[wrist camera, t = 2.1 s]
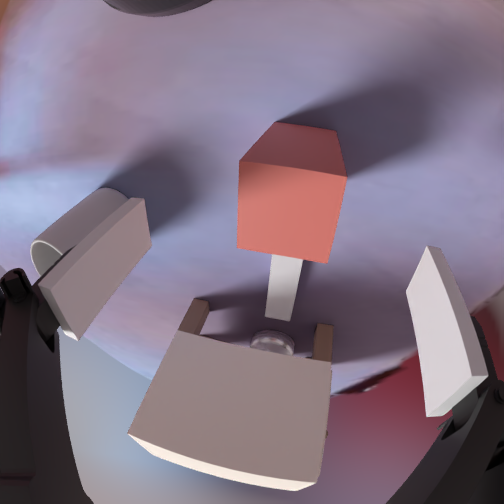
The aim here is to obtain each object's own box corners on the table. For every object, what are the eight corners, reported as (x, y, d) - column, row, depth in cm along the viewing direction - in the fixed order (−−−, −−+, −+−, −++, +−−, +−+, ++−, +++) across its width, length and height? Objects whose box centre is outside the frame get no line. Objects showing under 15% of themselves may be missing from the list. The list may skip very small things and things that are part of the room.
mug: (100, 172, 28) (31, 222, 19) (153, 218, 30) (95, 283, 21) (78, 233, 35) (28, 282, 26) (121, 271, 37) (77, 327, 28)
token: (253, 324, 37) (249, 338, 35) (298, 333, 36) (296, 347, 34) (251, 349, 41) (247, 362, 39) (291, 357, 40) (289, 370, 38)
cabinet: (194, 298, 36) (127, 433, 21) (343, 327, 33) (330, 483, 18) (200, 342, 42) (152, 454, 27) (324, 367, 39) (306, 492, 24)
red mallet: (274, 121, 21) (239, 160, 13) (336, 130, 21) (347, 177, 12) (258, 306, 34) (235, 385, 26) (299, 314, 34) (285, 395, 25)
